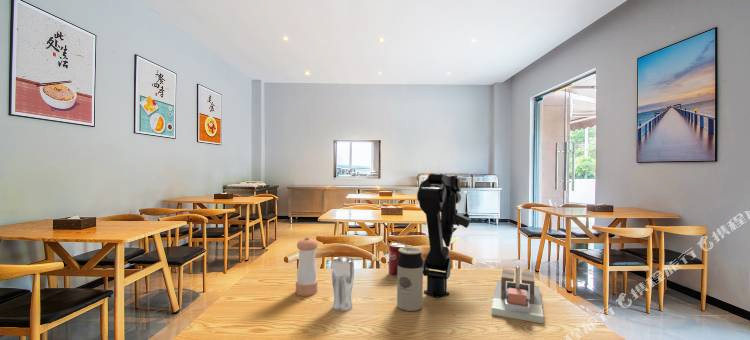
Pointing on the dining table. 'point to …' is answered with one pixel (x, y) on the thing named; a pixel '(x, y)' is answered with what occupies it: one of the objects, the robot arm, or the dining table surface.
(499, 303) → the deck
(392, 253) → the soda can
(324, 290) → the dining table surface
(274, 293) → the dining table surface
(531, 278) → the tunnel
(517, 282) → the grey piece
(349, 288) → the beer glass
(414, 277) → the travel mug
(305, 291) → the pepper shaker
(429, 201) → the robot arm
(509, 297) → the block
